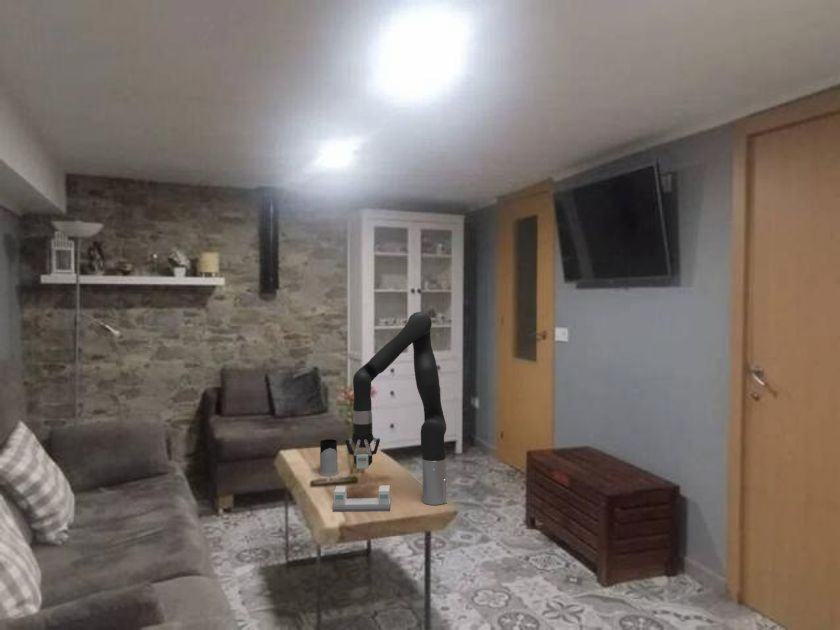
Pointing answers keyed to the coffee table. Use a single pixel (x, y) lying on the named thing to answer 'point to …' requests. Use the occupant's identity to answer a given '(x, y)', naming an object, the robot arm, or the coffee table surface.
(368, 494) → the coffee table surface
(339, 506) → the board
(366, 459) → the block
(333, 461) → the glass holder
